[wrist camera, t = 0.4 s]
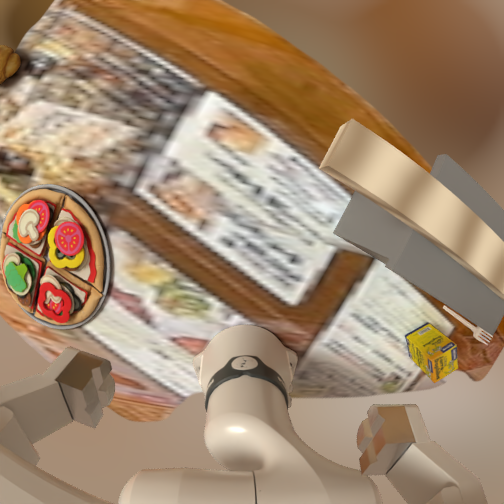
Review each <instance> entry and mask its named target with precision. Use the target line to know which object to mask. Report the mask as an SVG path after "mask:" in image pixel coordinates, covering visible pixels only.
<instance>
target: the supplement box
mask: <svg viewBox="0 0 504 504" xmlns="http://www.w3.org/2000/svg"><path fill="white" fill-rule="evenodd" d="M405 337H406V341H407V345H408V350H409V357H410V358H411V359H412V360H413V361H414V362H415V363H416V364H417V365H418V366H419V367H420V368H421V369H422V370H423V371H424V373H425V374H426V375H427V376H428V377H429V378H430V379H431V380H432V381H433V382H434V383H436V382H437V381H439V380H440V379H442V378H444V377H445V376H447V375H448V374H450V373H451V372H453V371H455V370H456V369H458V359H457V344H455V343H454V342H453V341H451V340H450V339H449V338H447V337H446V336H445V335H444V334H442V333H441V332H440V331H438V330H437V329H436V328H434V327H433V326H432V325H431V324H429V323H426V324H424V325H422V326H421V327H419V328H417V329H415V330H414V331H412V332H410V333H408V334H407V335H405Z"/></svg>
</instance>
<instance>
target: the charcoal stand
mask: <svg viewBox="0 0 504 504" xmlns="http://www.w3.org/2000/svg"><path fill="white" fill-rule="evenodd" d="M430 175H432V176H433V177H434V178H435V179H436V180H438V181H439V182H440V183H441V184H443V185H444V186H445V187H446V188H447V189H448V190H450V191H451V192H452V193H453V194H454V195H455V196H456V197H458V198H459V199H460V200H461V201H462V202H463V203H464V204H465V205H467V206H468V207H469V208H470V209H471V210H472V211H473V212H474V213H475V214H476V215H477V216H478V217H479V218H480V219H481V220H483V221H484V222H485V223H486V224H487V225H488V226H489V227H490V228H491V229H492V230H493V231H494V232H495V233H496V234H497V235H498V236H499V237H500V238H501V240H502V241H503V242H504V210H503V209H502V208H501V207H500V206H499V205H498V204H497V202H495V200H494V199H493V198H492V197H491V196H490V195H489V194H488V193H487V192H486V191H485V190H484V189H483V188H482V187H481V186H480V185H479V184H478V183H477V182H476V181H475V180H474V179H473V178H472V177H471V176H470V175H469V174H468V173H466V171H464V170H463V169H462V168H461V167H460V166H459V165H458V164H457V163H456V162H454V161H453V160H452V159H451V158H450V157H449V156H447V155H446V154H445V155H438V156H437V158H436V161H435V163H434V166H433V168H432V170H431V173H430ZM333 233H334V234H336V235H337V236H339V237H341V238H343V239H344V240H346V241H348V242H349V243H351V244H353V245H355V246H356V247H358V248H360V249H361V250H363V251H365V252H366V253H368V254H370V255H371V256H373V257H375V258H376V259H378V260H380V261H381V262H383V263H385V264H386V266H385V267H387V268H388V269H390V270H392V271H393V272H395V273H396V274H398V275H400V276H401V277H403V278H405V279H406V280H408V281H409V282H411V283H413V284H414V285H416V286H417V287H419V288H421V289H422V290H424V291H425V292H427V293H429V294H430V295H432V296H433V297H435V298H436V299H438V300H439V301H441V302H443V303H444V304H446V305H447V306H449V307H450V308H452V309H453V310H455V311H456V312H458V313H459V314H461V315H462V316H464V317H465V318H467V319H468V320H470V321H471V322H473V323H474V324H476V325H477V326H479V327H480V328H482V329H483V330H484V331H486V332H488V333H489V334H491V335H492V336H493V334H494V332H495V331H496V329H497V327H498V325H499V323H500V321H501V319H502V317H503V315H504V300H502V299H501V298H500V297H499V296H498V295H496V294H495V293H494V292H493V291H492V290H491V289H490V288H488V287H487V286H486V285H485V284H484V283H482V282H481V281H480V280H479V279H478V278H476V277H475V276H474V275H473V274H472V273H470V272H469V271H468V270H467V269H465V268H464V267H463V266H462V265H460V264H459V263H458V262H456V261H455V260H454V259H453V258H451V257H450V256H449V255H447V254H446V253H445V252H444V251H442V250H441V249H440V248H438V247H437V246H436V245H434V244H433V243H432V242H430V241H429V240H427V239H426V238H425V237H423V236H422V235H421V234H419V233H418V232H416V231H415V230H414V229H412V228H411V227H409V226H408V225H406V224H405V223H404V222H402V221H401V220H399V219H398V218H396V217H395V216H393V215H392V214H390V213H389V212H388V211H386V210H385V209H383V208H382V207H380V206H378V205H377V204H375V203H374V202H372V201H371V200H369V199H368V198H366V197H365V196H363V195H361V194H360V193H358V192H357V191H355V192H354V194H353V196H352V198H351V200H350V202H349V204H348V206H347V208H346V210H345V212H344V213H343V215H342V217H341V219H340V221H339V223H338V225H337V227H336V229H335V230H334V232H333Z"/></svg>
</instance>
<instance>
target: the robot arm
mask: <svg viewBox="0 0 504 504" xmlns="http://www.w3.org/2000/svg"><path fill="white" fill-rule="evenodd" d="M297 361H298V357H297V354H296V353H295V352H294V351H292V350H290V349H288V348H286V347H285V346H283V344H282V343H281V342H280V341H279V340H278V338H277V337H276V336H275V335H273V334H272V333H271V332H269V331H268V330H266V329H264V328H261V327H258V326H253V325H237V326H233V327H230V328H227V329H225V330H223V331H221V332H220V333H218V334H217V335H216V336H215V337H214V338H213V339H212V340H211V341H210V343H209V344H208V346H207V348H206V349H205V350H204V351H202V352H201V353H199V354H198V355H196V356H195V357H194V358H193V366H194V369H195V372H196V374H197V377H198V380H199V384H200V385H201V387H202V390H203V392H204V395H205V408H206V412H207V416H206V423H205V431H204V440H205V444H206V447H207V449H208V450H209V452H210V454H211V455H212V456H213V458H214V459H215V460H216V461H217V462H218V463H219V464H220V465H222V466H223V467H225V468H226V469H228V470H230V471H224V470H207V469H196V468H168V469H167V468H166V469H144V470H141V471H139V472H138V473H136V474H135V475H134V476H133V477H132V478H131V479H130V480H129V481H128V482H127V483H126V485H125V487H124V488H123V490H122V492H121V495H120V497H119V503H118V504H383V502H382V497H381V494H380V492H379V490H378V488H377V486H376V485H375V483H374V482H373V480H372V479H370V477H368V476H367V475H386V477H387V478H388V480H389V481H390V482H391V483H392V484H393V486H394V487H395V488H396V490H397V491H398V492H399V493H400V495H401V496H402V497H403V498H404V500H405V501H406V502H407V503H408V504H488V503H487V500H486V497H485V494H484V491H483V488H482V485H481V482H480V479H479V478H478V477H477V476H475V475H474V474H473V473H472V472H471V471H469V470H468V469H467V468H466V467H465V466H463V465H462V464H461V463H460V462H459V461H457V460H456V459H455V458H454V457H453V456H451V455H450V454H449V453H448V452H447V451H445V450H444V449H443V448H442V447H441V446H439V445H438V444H437V443H436V442H435V441H430V438H429V435H428V432H427V430H426V427H425V424H424V421H423V419H422V416H421V413H420V410H419V408H418V406H417V405H416V404H407V405H406V404H405V405H404V404H403V405H399V404H398V405H377V404H376V405H375V404H374V405H372V406H371V407H370V408H369V410H368V412H367V414H368V418H367V419H365V420H364V421H362V423H361V425H360V427H359V429H358V433H357V446H358V449H359V450H360V451H361V452H362V453H363V454H362V456H361V457H360V459H359V460H360V467H361V471H360V470H356V469H352V468H348V467H345V466H342V465H339V464H337V463H335V462H332V461H330V460H328V459H326V458H325V457H323V456H321V455H320V454H318V453H317V452H315V451H314V450H313V449H311V448H310V447H309V446H308V445H307V444H306V443H305V442H303V441H302V440H301V438H299V436H298V435H297V434H296V432H295V431H294V428H293V426H292V423H291V420H290V417H289V413H288V408H289V407H291V400H292V399H291V396H288V395H289V392H292V391H293V385H291V384H292V380H293V376H294V373H295V369H296V365H297ZM290 363H292V364H290ZM199 367H200V368H199ZM111 370H112V367H111V363H110V361H108V360H106V359H104V358H101V357H98V356H95V355H92V354H90V353H87V352H84V351H81V350H78V349H76V348H73V347H71V346H70V347H67V348H66V349H65V350H64V351H63V352H62V353H61V354H60V355H59V356H58V357H57V359H56V360H55V361H54V362H53V363H52V364H51V365H50V366H49V368H48V369H47V370H46V371H45V372H44V373H43V374H39V373H38V374H36V375H33V376H30V377H27V378H24V379H21V380H18V381H15V382H12V383H9V384H6V385H3V386H0V504H113V503H111V502H108V501H106V500H103V499H101V498H98V497H96V496H94V495H92V494H89V493H87V492H85V491H83V490H80V489H78V488H76V487H74V486H72V485H70V484H68V483H66V482H64V481H62V480H60V479H58V478H56V477H54V476H53V475H51V474H49V473H47V472H45V471H43V470H41V469H40V468H38V467H37V466H36V464H37V463H38V461H39V459H40V457H39V454H38V453H37V451H36V449H35V448H34V446H33V445H32V444H33V443H35V442H37V441H39V440H41V439H43V438H45V437H46V436H48V435H50V434H52V433H54V432H55V431H57V430H59V429H60V428H62V427H64V426H66V425H68V424H69V423H71V422H73V420H74V421H77V422H80V423H82V424H85V425H87V426H90V427H92V428H96V426H97V424H98V423H99V421H100V419H101V418H102V416H103V410H102V408H104V407H106V406H108V405H109V404H110V403H111V401H112V399H113V396H114V392H115V382H114V379H113V377H112V376H111V375H110V374H109V373H110V371H111ZM502 504H504V503H502Z"/></svg>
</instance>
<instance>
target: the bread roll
mask: <svg viewBox="0 0 504 504" xmlns="http://www.w3.org/2000/svg"><path fill="white" fill-rule="evenodd" d="M20 64H21V60H20V57H19V55H18V54H16V53H14V51H13V49H12V48H10V47H8V46H5V45H0V84H1V83H2V82H4V81H5V80H6V78H8V77H10V76H12V75H13V74H14V73H15V72H16V71H17V70H18V69H19V67H20Z"/></svg>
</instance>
